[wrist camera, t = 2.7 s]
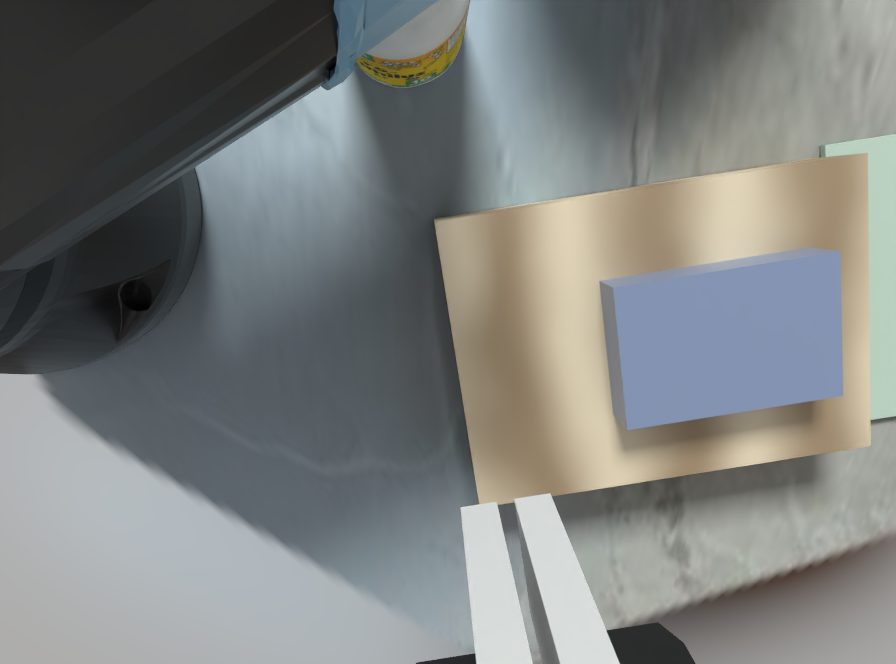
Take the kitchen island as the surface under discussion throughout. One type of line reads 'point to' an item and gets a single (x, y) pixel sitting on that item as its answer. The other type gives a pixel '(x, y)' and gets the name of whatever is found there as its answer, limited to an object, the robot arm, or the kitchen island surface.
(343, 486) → the kitchen island surface
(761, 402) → the flat periwinkle box
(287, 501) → the kitchen island surface
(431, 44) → the supplement bottle
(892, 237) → the mat
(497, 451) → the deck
